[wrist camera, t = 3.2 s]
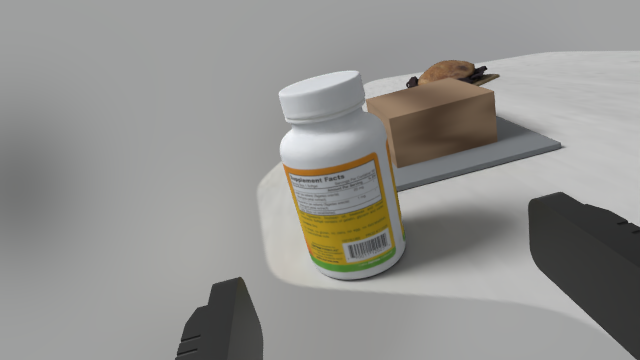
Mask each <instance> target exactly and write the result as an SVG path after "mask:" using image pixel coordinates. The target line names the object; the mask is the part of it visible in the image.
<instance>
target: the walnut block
mask: <svg viewBox="0 0 640 360" xmlns="http://www.w3.org/2000/svg"><path fill="white" fill-rule="evenodd" d="M366 103H367V109H368V113H372V114H374V115H376V116H377V117H378V118H379V119H380V120H381V121H382V122H383V124H384V127H385V130H386V135H387V139H388V144H389V150H390V156H391V161H392V162H393V164H394V165H395V166H396V167H397V168H401V167H405V166H409V165H413V164H416V163H420V162H424V161H428V160H432V159H435V158H439V157H443V156H447V155H450V154H454V153H458V152H462V151H466V150H469V149H473V148H477V147H481V146H484V145H488V144H492V143H496V142H498V140H497V126H496V112H495V97H494V91H492V90H489V89H485V88H482V87H479V86H476V85H472V84H469V83H466V82H463V81H459V80H456V79H453V78H446V79H442V80H438V81H435V82H431V83H427V84H423V85H419V86H416V87H412V88H408V89H404V90H400V91H396V92H393V93H389V94H385V95H381V96H377V97H374V98H370V99H366Z"/></svg>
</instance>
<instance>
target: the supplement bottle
mask: <svg viewBox="0 0 640 360" xmlns="http://www.w3.org/2000/svg"><path fill="white" fill-rule="evenodd" d="M364 97H365V92H364V88H363V84H362V79H361V75H360V73H359V72H358V71H341V72H334V73H330V74H325V75H320V76H316V77H312V78H309V79H306V80H303V81H300V82H297V83H295V84H292V85H290V86H287V87H286V88H284V89H282V90H281V91H280V92H279V99H280V102H281V106H282V109H283V113H284V116H285V120H286V121H287V122H289V123H291V124H292V130H290V131H289V132H288V133H287V134H286V135H285V136H284V138H283V140H282V142H281V145H280V154H281V158H282V162H283V166H284V169H285V173H286V176H287V179H288V183H289V186H290V190H291V193H292V196H293V200H294V203H295V206H296V210H297V213H298V216H299V220H300V223H301V226H302V230H303V233H304V237H305V240H306V243H307V247H308V250H309V253H310V256H311V259H312V262H313V264H314V265H315V267H316V268H317V269H318V270H319V271H320V272H321V273H323V274H325V275H327V276H329V277H332V278H336V279H360V278H365V277H369V276H373V275H376V274H378V273H381V272H383V271H385V270H387V269H388V268H390V267H391V266H393V265H394V264H395V263H396V262H397V261H398V260H399V259H400V257H401V256H402V254H403V252H404V249H405V245H406V239H405V232H404V226H403V221H402V216H401V211H400V205H399V200H398V194H397V189H396V184H395V178H394V172H393V167H392V161H391V156H390V150H389V144H388V139H387V135H386V130H385V127H384V124H383V122H382V121H381V120H380V119H379V118H378V117H377V116H376V115H374V114H372V113H368V112H363V110H362V105H363V104H364V103H365V98H364Z"/></svg>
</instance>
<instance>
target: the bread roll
mask: <svg viewBox="0 0 640 360" xmlns="http://www.w3.org/2000/svg"><path fill="white" fill-rule="evenodd" d="M485 70H487V68H486V66H482V67H480V68H477V69H475V66H474V64H472V63H469V62H465V61H456V60H449V61H442V62H439V63H437V64H434V65H433V66H432V67H430V68H429V69H428V70H427V71H425V72H424V74H422V75H421V77H420V78H419V79H417V78H416V76H415V77H411V79H410V80H409V82H407V84H406V86H407V87H408V84H409V87H408V88H412V87H416V86H419V85H423V84H427V83H431V82H435V81H438V80H442V79H446V78H453V79H456V80H459V81H463V82H466V83H469V84H472V85H476V86H480V85H482V84H484V83H486V82H489V81H491V80H493V79H495V78H498V77H499V75H498V74H487V75H483V73H484V71H485Z"/></svg>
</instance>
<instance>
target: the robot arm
mask: <svg viewBox="0 0 640 360" xmlns="http://www.w3.org/2000/svg"><path fill="white" fill-rule="evenodd" d="M528 214H529V238H530V251H531V255H532V258H533V260H534V262H535V264H536V265H537V267H538V268H539V269H540V270H541V271H542V272H543V273H544V274H545V275H546V276H547V277H548V278H549V279H550V280H551V281H553V282H554V283H555V284H556V285H557V286H558V287H559V288H560V289H561V290H562V291H563V292H564V293H565V294H567V295H568V296H569V297H570V298H571V299H572V300H573V301H574V302H575V303H576V304H577V305H578V306H579V307H581V308H582V309H583V310H584V311H585V312H586V313H587V314H588V315H589V316H590V317H591V318H592V319H593V320H595V321H596V322H597V323H598V324H599V325H600V326H601V327H602V328H603V329H604V330H605V331H606V332H607V333H609V334H610V335H611V336H612V337H613V338H614V339H615V340H616V341H617V342H618V343H619V344H620V345H621V346H623V347H624V348H625V349H626V350H627V351H628V352H629V353H630V354H631V355H632V356H633V357H634V358H635V359H637V360H640V227H638V226H636V225H634V224H633V223H628V221H627V220H626V219H624V218H622V217H620V216H618V215H617V214H615V213H613V212H611V211H609V210H606V209H602V208H599V207H595V206H592V205H588V204H585V205H584V204H582V203H580V202H579V201H577V200H575V199H573V198H572V197H570V196H568V195H567V194H565V193H563V192H557V193H553V194H550V195H546V196H542V197H539V198H535V199H532V200H531V201H530V202H529V206H528ZM175 360H263V336H262V329H261V325H260V322H259V319H258V316H257V314H256V311H255V308H254V306H253V303H252V300H251V298H250V295H249V293H248V290H247V288H246V285H245V282H244V280H243V279H242V278H241V277H238V278H234V279H231V280H227V281H223V282H219V283H215V284H213V286H212V289H211V293H210V297H209V302H208V305H206V306H203V307H199V308H197V309H196V310H195V312H194V313H193V314H192V316H191V317H190V318H189V320H188V321H187V323H186V324H185V327H184V331H183V334H182V338H181V343H180V344H179V348H178V351H177V357H176V358H175Z"/></svg>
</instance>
